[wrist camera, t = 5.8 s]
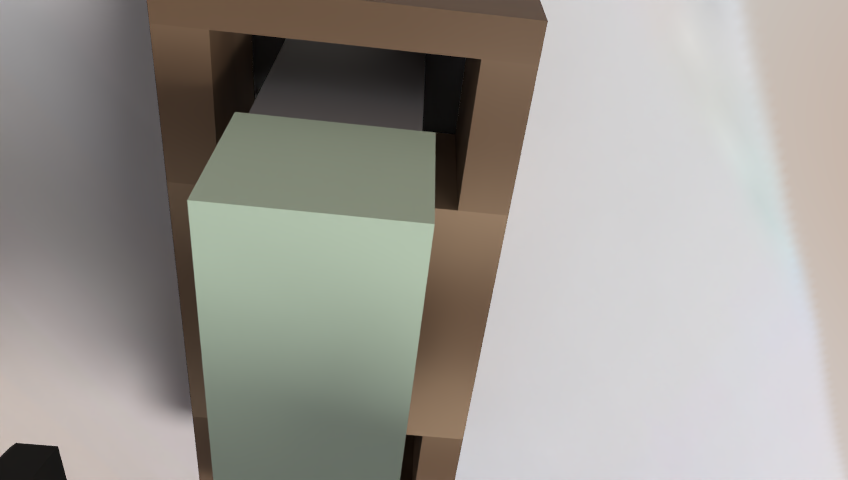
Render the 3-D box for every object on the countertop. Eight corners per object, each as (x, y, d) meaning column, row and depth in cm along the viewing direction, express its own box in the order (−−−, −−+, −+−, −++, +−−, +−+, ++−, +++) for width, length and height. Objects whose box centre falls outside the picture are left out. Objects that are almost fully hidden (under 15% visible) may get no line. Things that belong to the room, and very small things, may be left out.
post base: (443, 436, 21) (443, 531, 18) (231, 419, 21) (203, 512, 18) (527, -32, 13) (547, 20, 11) (199, -69, 13) (143, -24, 11)
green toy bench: (395, 396, 20) (378, 638, 15) (284, 387, 20) (227, 628, 14) (436, 40, 14) (434, 224, 9) (282, 23, 14) (187, 200, 9)
